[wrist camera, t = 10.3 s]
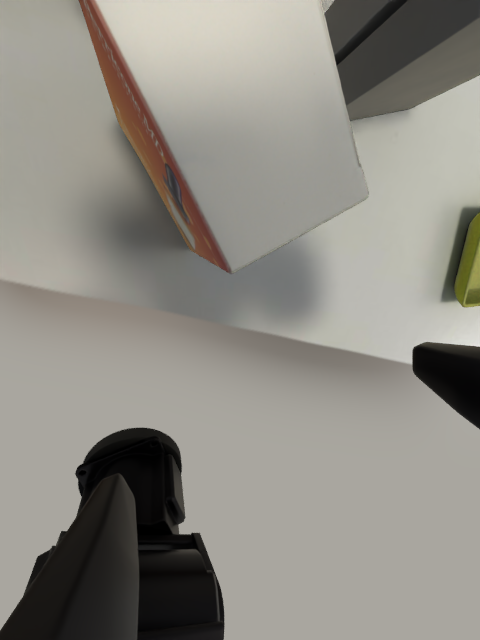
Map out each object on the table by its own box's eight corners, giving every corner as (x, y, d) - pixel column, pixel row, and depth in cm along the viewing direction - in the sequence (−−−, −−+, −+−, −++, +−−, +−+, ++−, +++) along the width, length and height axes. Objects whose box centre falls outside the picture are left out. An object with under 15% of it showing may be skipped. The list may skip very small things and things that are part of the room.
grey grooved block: (312, 128, 18) (479, 17, 8) (302, 40, 16) (499, -215, 7) (410, 108, 19) (640, -3, 10) (410, 27, 17) (689, -197, 8)
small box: (116, 121, 15) (39, -94, 5) (205, 79, 15) (290, -186, 6) (190, 254, 18) (229, 280, 8) (261, 215, 18) (376, 197, 9)
